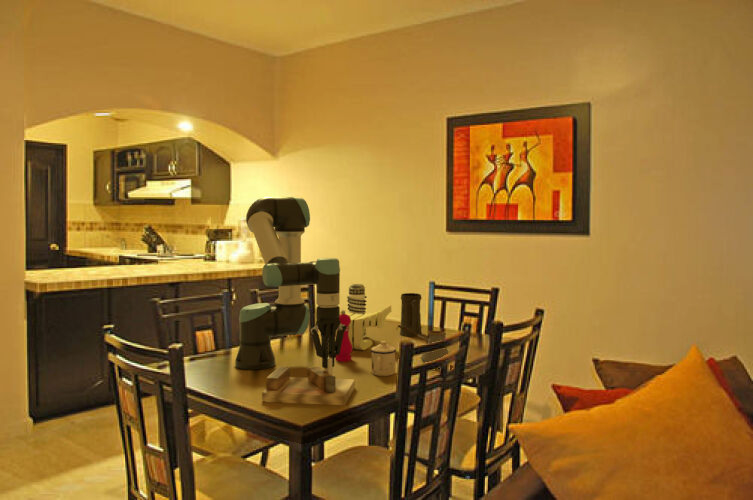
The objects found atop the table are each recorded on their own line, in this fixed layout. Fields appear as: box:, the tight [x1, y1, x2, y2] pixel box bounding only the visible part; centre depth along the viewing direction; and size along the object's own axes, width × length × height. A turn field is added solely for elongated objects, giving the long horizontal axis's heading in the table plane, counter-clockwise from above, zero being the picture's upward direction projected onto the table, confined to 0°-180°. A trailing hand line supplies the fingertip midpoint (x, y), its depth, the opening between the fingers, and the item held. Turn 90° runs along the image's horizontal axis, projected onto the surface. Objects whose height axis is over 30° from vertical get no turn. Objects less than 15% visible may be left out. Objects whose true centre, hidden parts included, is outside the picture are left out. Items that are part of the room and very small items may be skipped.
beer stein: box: [399, 292, 423, 337], centre depth 285 cm, size 15×11×20 cm
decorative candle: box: [346, 283, 368, 339], centre depth 281 cm, size 9×9×25 cm
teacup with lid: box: [370, 340, 397, 377], centre depth 216 cm, size 12×9×12 cm
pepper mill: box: [335, 309, 353, 363], centre depth 237 cm, size 7×7×20 cm
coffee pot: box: [396, 324, 450, 364], centre depth 230 cm, size 21×12×15 cm, turn 75°
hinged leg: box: [307, 366, 336, 393], centre depth 190 cm, size 16×4×4 cm, turn 27°
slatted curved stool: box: [314, 305, 392, 351], centre depth 260 cm, size 30×16×18 cm, turn 74°
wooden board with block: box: [261, 366, 356, 406], centre depth 191 cm, size 26×18×7 cm
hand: (328, 377), depth 194 cm, fingers closed
